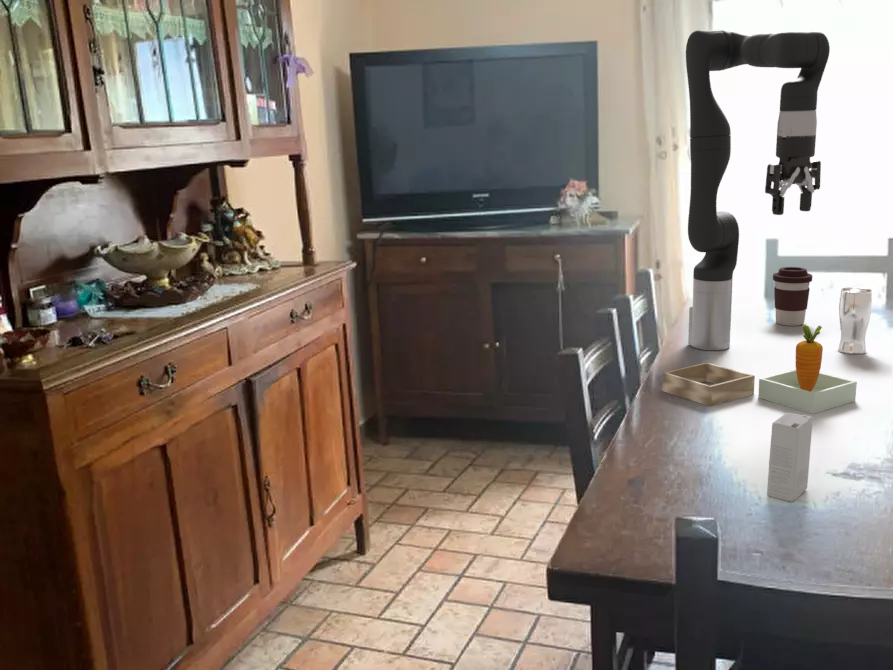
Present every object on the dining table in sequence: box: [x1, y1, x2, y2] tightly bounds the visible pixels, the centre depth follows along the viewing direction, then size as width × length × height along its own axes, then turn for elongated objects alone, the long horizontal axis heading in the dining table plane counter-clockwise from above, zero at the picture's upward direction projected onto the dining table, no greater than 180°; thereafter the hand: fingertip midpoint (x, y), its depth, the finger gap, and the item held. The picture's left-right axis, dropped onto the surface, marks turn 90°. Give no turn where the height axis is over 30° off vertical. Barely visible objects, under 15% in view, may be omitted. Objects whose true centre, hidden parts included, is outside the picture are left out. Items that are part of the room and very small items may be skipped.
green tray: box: [757, 368, 858, 415], centre depth 182 cm, size 13×13×4 cm
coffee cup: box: [772, 266, 813, 327], centre depth 245 cm, size 10×10×15 cm
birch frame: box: [662, 362, 756, 407], centre depth 189 cm, size 13×13×4 cm
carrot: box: [795, 323, 823, 392], centre depth 181 cm, size 5×5×15 cm
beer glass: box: [837, 286, 873, 355], centre depth 215 cm, size 7×7×15 cm
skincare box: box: [766, 412, 814, 503], centre depth 138 cm, size 6×4×12 cm
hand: (791, 212), depth 190 cm, fingers open, 8 cm apart
